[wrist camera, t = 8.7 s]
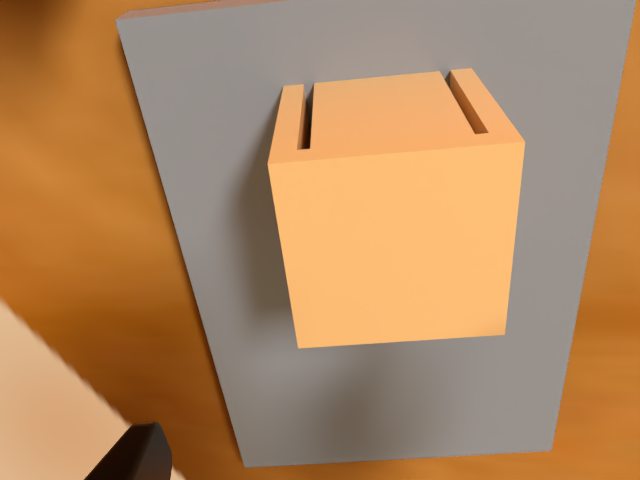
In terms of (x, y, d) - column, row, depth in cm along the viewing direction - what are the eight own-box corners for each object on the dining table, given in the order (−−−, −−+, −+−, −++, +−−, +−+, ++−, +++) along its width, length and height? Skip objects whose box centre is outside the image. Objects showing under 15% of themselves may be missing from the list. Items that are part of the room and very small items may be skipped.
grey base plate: (542, 428, 26) (581, 528, 22) (247, 446, 27) (234, 545, 23) (622, -45, 16) (726, -15, 11) (128, 10, 16) (63, 56, 12)
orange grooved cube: (464, 228, 19) (504, 334, 15) (304, 240, 19) (298, 348, 15) (471, 67, 16) (525, 142, 12) (283, 86, 16) (267, 164, 12)
